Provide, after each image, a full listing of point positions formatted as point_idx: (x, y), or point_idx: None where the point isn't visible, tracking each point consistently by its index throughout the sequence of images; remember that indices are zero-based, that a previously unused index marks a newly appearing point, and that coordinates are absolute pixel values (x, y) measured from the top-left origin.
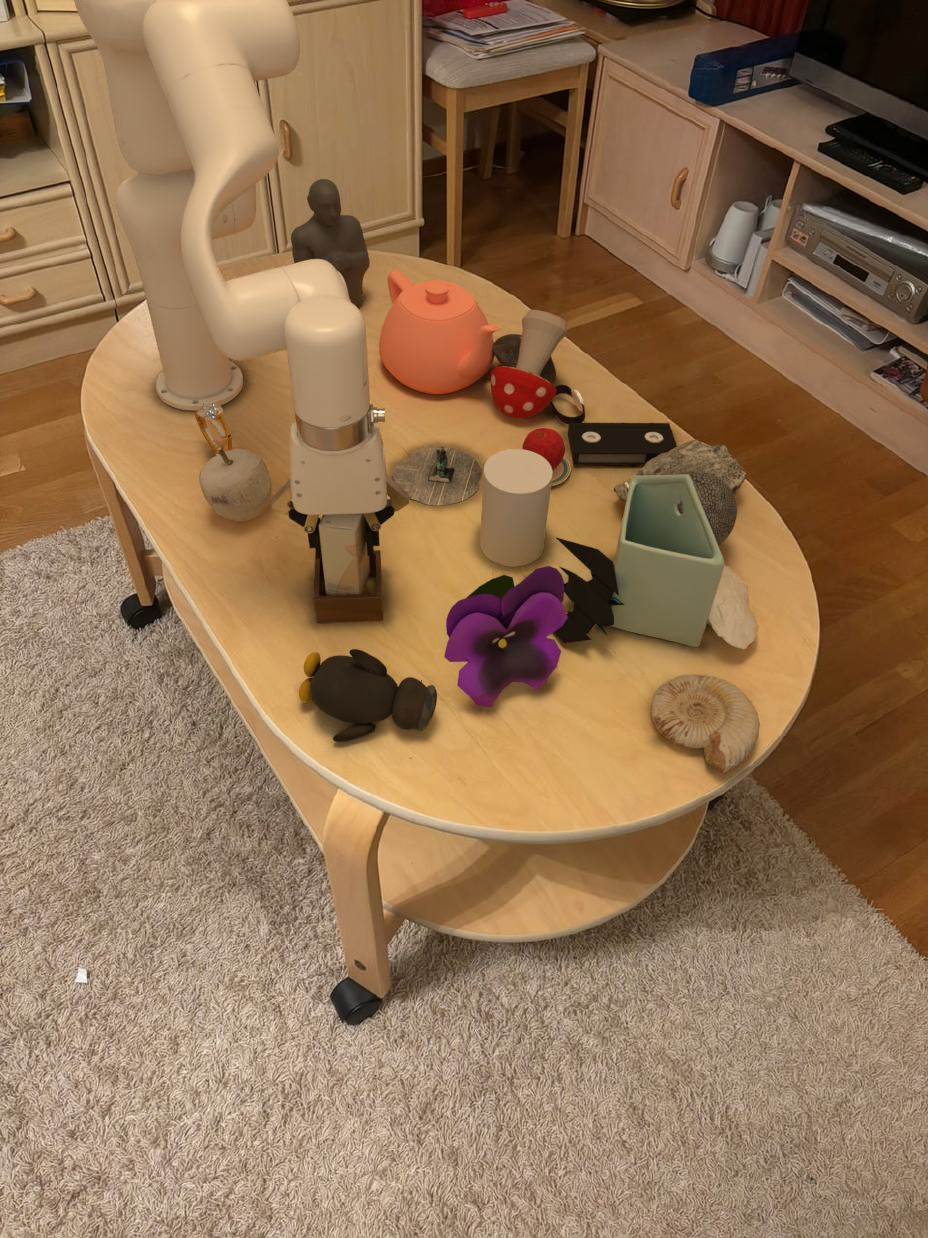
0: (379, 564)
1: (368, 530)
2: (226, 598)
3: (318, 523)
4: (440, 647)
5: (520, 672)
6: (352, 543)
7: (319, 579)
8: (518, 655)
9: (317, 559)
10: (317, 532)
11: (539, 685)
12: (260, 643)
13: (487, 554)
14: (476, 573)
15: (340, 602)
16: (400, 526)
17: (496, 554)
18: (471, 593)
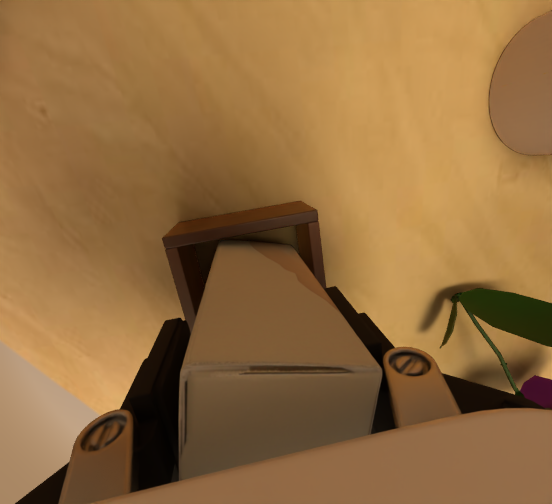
0: (320, 256)
1: (372, 428)
2: (17, 303)
3: (165, 429)
4: (402, 342)
5: None
6: None
7: (196, 315)
8: None
9: (174, 261)
10: (177, 475)
11: (532, 399)
12: (126, 381)
13: (504, 133)
14: (471, 179)
15: None
16: (327, 43)
17: (531, 146)
18: (510, 332)
